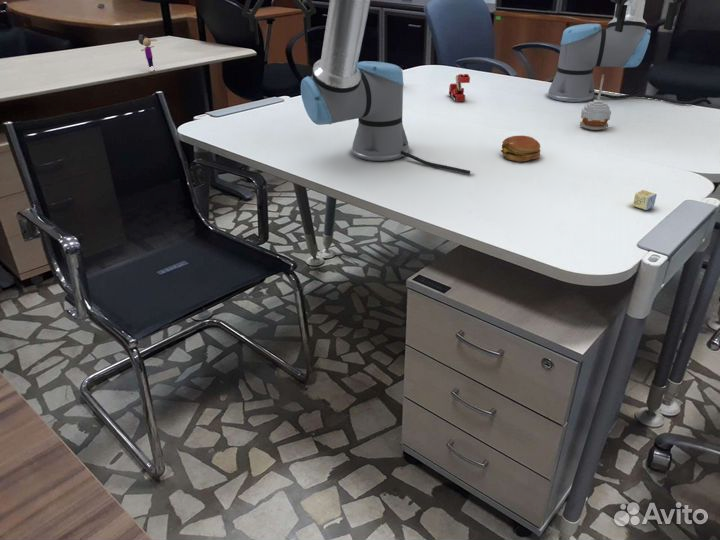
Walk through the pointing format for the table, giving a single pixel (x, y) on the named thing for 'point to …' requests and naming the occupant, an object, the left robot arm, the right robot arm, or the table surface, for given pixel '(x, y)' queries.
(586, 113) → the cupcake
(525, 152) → the burger
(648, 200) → the alphabet block
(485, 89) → the table surface
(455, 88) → the toy fire truck
